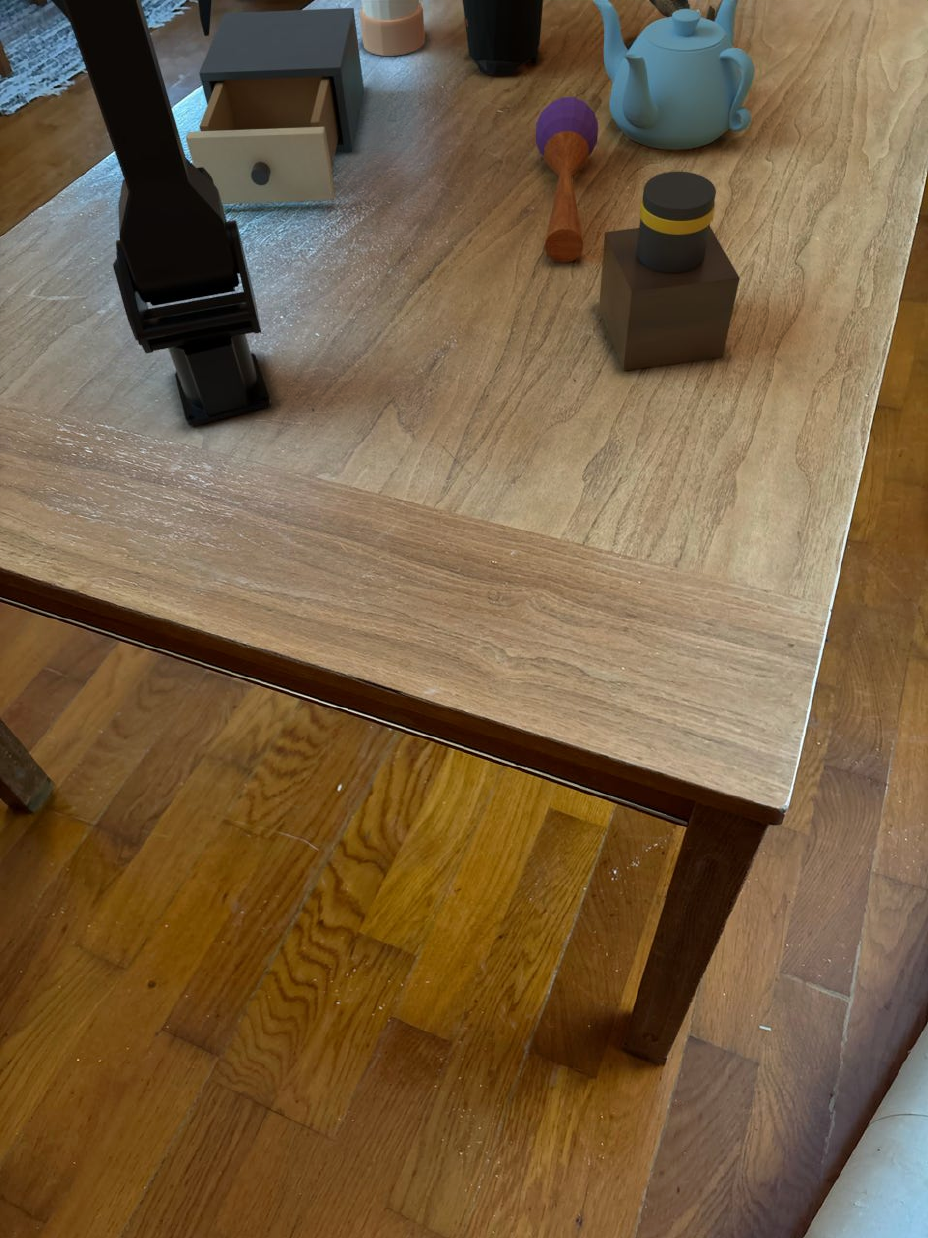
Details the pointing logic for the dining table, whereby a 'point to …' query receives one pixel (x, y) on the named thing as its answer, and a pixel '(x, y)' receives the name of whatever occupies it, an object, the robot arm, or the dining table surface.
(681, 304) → the block stand
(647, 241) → the canister
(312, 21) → the cabinet
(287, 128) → the drawer
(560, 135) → the purple maraca
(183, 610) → the dining table surface
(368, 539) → the dining table surface
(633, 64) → the teapot
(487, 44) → the portable speaker
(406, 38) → the pepper shaker
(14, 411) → the dining table surface
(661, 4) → the eagle figurine
